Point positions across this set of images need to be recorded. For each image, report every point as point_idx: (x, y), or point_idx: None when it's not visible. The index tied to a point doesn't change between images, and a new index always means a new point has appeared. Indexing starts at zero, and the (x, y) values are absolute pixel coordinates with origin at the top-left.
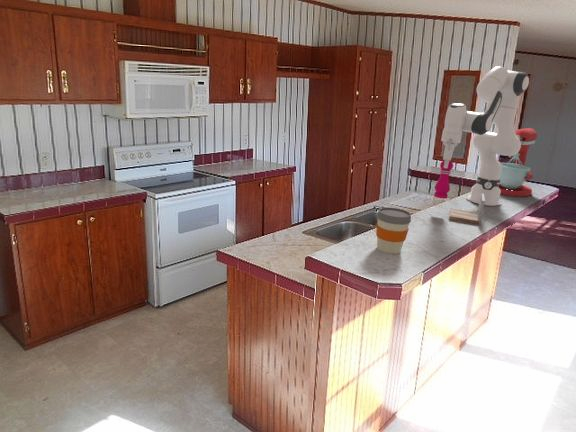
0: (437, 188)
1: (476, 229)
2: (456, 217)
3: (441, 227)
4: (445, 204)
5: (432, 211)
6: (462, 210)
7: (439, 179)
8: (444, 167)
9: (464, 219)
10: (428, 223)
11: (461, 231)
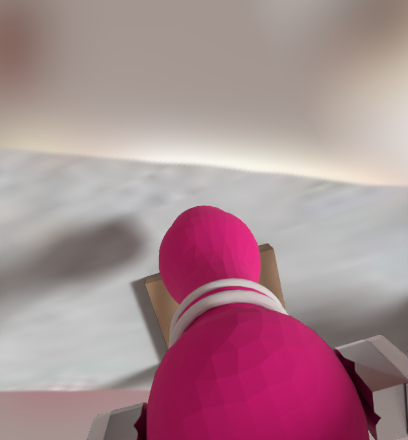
0: (162, 243)
1: (121, 370)
2: (153, 306)
3: (25, 289)
4: (371, 192)
5: (213, 190)
6: (275, 291)
7: (193, 261)
8: (97, 425)
9: (161, 329)
10: (25, 239)
11: (49, 347)
